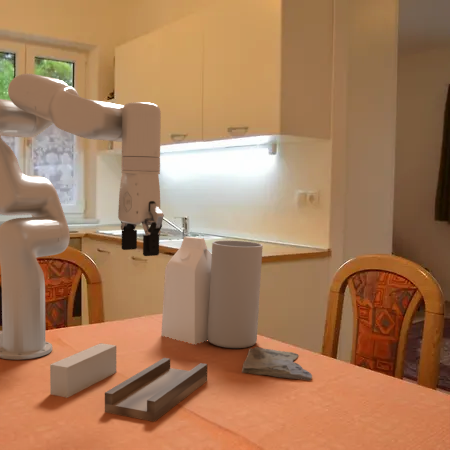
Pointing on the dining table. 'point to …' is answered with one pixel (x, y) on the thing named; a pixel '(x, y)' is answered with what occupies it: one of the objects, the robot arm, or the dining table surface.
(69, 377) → the beige rectangular block
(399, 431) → the dining table surface
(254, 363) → the fossil rock
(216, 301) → the cylinder vase
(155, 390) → the brown long channel piece
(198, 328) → the milk
